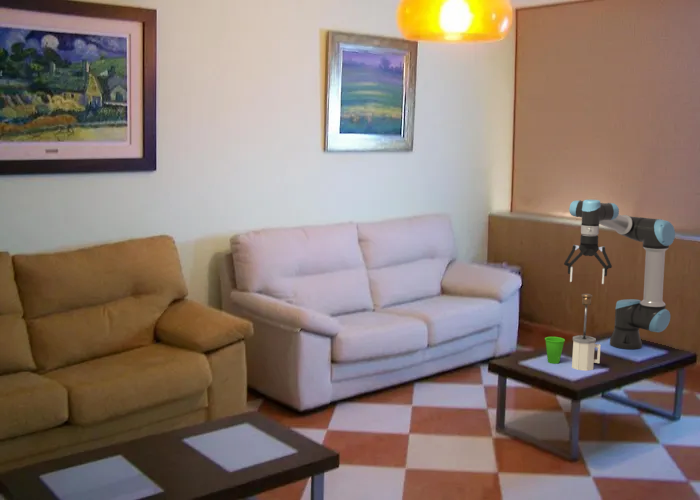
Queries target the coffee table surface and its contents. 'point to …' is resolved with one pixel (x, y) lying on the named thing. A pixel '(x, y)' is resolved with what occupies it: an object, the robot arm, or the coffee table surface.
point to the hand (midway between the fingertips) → (586, 282)
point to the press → (584, 353)
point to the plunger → (586, 302)
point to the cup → (554, 349)
